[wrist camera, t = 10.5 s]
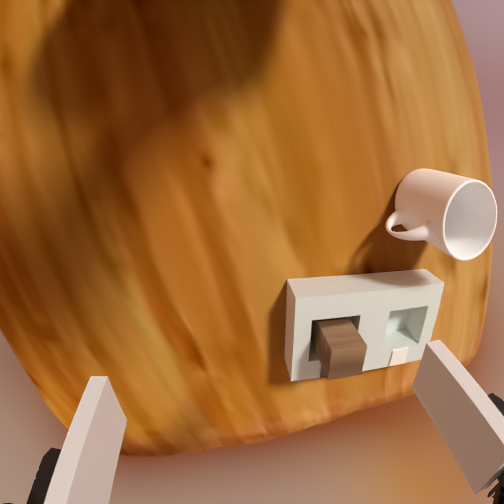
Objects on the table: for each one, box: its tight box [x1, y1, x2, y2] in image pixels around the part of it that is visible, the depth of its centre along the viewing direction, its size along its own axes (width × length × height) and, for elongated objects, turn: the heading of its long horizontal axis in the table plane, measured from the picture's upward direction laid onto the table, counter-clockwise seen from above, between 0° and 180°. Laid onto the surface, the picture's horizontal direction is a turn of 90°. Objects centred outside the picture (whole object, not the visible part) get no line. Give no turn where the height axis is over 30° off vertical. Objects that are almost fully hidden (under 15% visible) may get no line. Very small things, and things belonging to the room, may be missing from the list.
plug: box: [310, 317, 367, 380], centre depth 36 cm, size 4×4×9 cm
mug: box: [386, 169, 497, 261], centre depth 32 cm, size 9×12×11 cm
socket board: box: [284, 269, 444, 381], centre depth 39 cm, size 12×20×5 cm, turn 91°
